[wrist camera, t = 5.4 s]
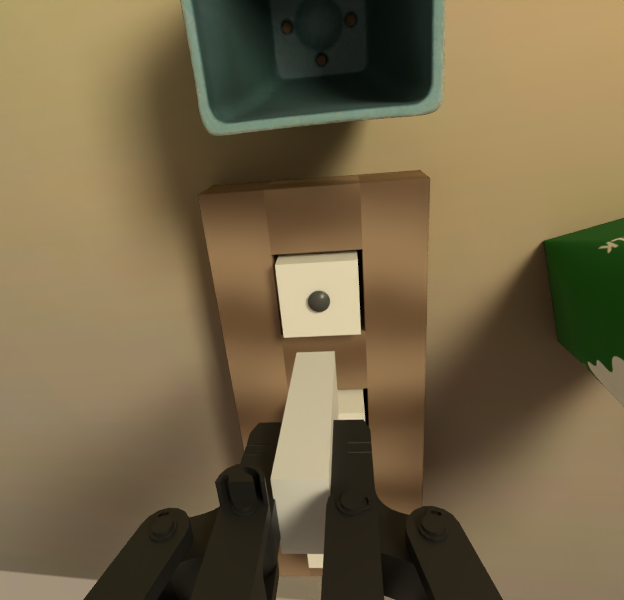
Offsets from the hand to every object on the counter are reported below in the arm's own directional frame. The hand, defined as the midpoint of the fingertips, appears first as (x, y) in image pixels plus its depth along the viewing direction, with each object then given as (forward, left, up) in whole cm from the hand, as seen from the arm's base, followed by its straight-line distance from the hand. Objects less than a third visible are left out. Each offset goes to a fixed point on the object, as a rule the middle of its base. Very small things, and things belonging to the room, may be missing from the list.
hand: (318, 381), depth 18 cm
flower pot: (+12, -7, -12) cm, 18 cm away
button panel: (-7, +5, -11) cm, 14 cm away
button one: (0, 0, -11) cm, 11 cm away
